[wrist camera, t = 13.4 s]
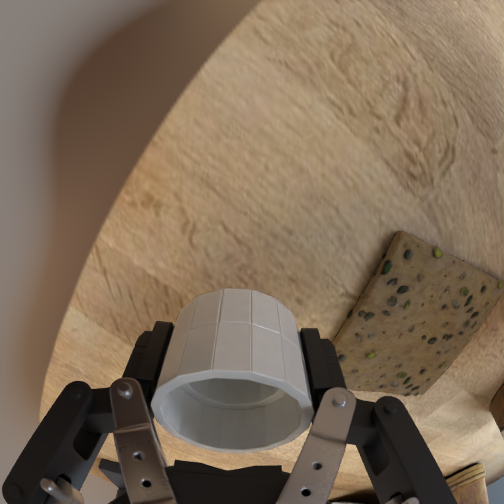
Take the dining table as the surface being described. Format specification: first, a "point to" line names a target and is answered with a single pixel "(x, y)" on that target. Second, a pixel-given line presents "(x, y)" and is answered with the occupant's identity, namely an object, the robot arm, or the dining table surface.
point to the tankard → (469, 485)
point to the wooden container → (498, 409)
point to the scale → (113, 474)
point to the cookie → (413, 318)
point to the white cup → (234, 374)
